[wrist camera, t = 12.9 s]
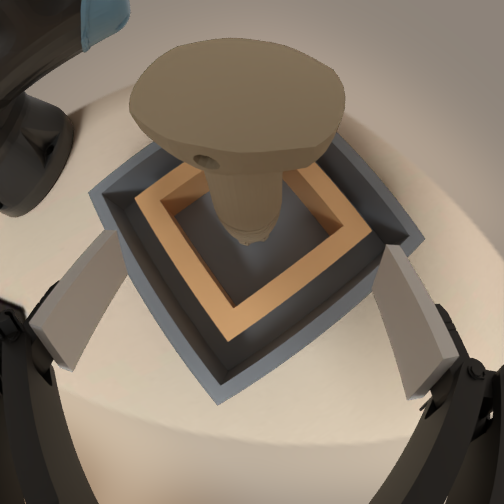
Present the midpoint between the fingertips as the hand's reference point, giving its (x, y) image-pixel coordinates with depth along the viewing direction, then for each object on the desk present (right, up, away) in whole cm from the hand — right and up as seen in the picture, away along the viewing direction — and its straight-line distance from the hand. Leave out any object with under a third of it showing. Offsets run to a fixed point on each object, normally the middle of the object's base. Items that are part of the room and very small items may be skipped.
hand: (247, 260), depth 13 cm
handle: (0, +2, +9) cm, 9 cm away
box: (0, +2, +10) cm, 10 cm away
